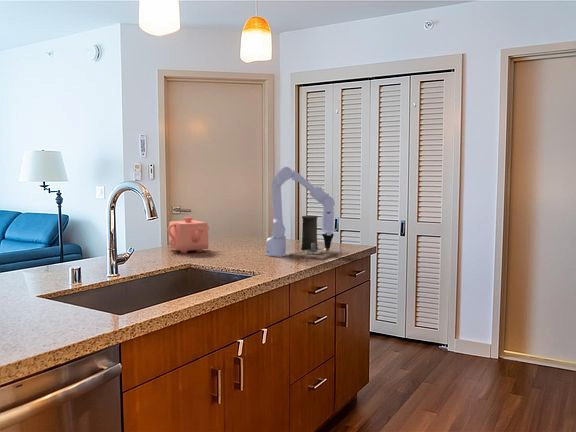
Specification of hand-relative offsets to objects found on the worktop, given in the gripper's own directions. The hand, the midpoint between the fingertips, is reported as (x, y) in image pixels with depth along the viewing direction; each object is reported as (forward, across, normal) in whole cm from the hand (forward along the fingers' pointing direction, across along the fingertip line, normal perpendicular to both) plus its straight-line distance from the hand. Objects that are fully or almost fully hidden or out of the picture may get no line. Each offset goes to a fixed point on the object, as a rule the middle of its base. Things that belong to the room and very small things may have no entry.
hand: (327, 248), depth 255 cm
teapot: (+4, +11, +70) cm, 71 cm away
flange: (+2, +1, +5) cm, 6 cm away
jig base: (+4, 0, +7) cm, 8 cm away
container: (+4, +21, +8) cm, 23 cm away
